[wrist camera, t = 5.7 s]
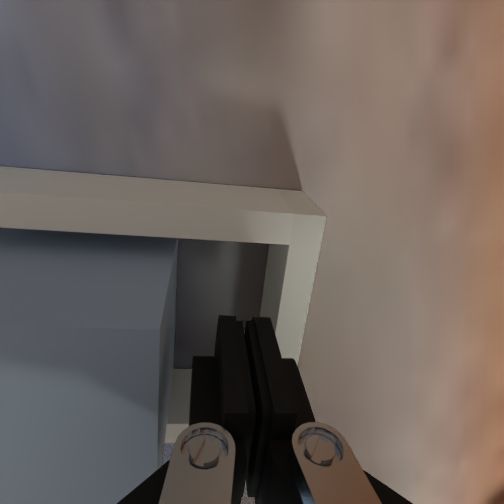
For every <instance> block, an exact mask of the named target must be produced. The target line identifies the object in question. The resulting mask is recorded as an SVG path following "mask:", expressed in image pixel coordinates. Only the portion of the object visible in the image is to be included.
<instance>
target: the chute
mask: <svg viewBox="0 0 504 504" xmlns="http://www.w3.org/2000/svg"><path fill="white" fill-rule="evenodd" d="M326 217H327V216H326V215H325V214H324V213H323V212H322V211H321V210H320V208H319V207H318V206H317V205H316V204H315V203H314V202H313V201H312V200H311V199H310V198H309V197H308V196H307V195H306V194H305V192H304V191H296V190H284V189H272V188H259V187H247V186H235V185H223V184H211V183H199V182H186V181H174V180H162V179H150V178H138V177H126V176H113V175H101V174H89V173H77V172H65V171H52V170H40V169H28V168H16V167H4V166H0V227H1V228H18V229H34V230H51V231H67V232H84V233H101V234H117V235H134V236H150V237H167V238H184V239H200V240H217V241H233V242H250V243H267V244H269V251H268V258H267V266H266V273H265V280H264V287H263V295H262V302H261V309H260V316H259V317H270V318H271V321H272V325H273V328H274V332H275V335H276V339H277V342H278V346H279V350H280V353H281V357H282V358H293V359H294V360H295V361H296V364H297V366H298V361H299V356H300V351H301V345H302V340H303V335H304V330H305V325H306V320H307V315H308V310H309V304H310V299H311V294H312V289H313V284H314V279H315V274H316V269H317V264H318V258H319V253H320V248H321V243H322V238H323V233H324V228H325V223H326ZM191 376H192V369H173V374H172V383H171V392H170V400H169V409H168V418H167V426H166V435H165V443H175V441H176V439H177V437H178V435H179V434H180V433H181V432H182V431H183V430H184V429H186V428H187V427H189V410H190V391H191Z"/></svg>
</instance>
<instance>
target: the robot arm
mask: <svg viewBox="0 0 504 504" xmlns="http://www.w3.org/2000/svg"><path fill="white" fill-rule="evenodd" d="M245 480H246V485H247V494H248V497H255V504H412V503H411V502H409V501H408V500H407V499H405V498H404V497H402V496H401V495H399V494H398V493H396V492H395V491H393V490H392V489H390V488H389V487H388V486H386V485H385V484H383V483H382V482H380V481H379V480H377V479H376V478H374V477H373V476H371V475H370V474H368V473H367V472H366V471H364V470H363V469H362V468H361V466H360V464H359V462H358V461H357V459H356V457H355V455H354V454H353V452H352V450H351V448H350V446H349V445H348V443H347V441H346V440H345V439H344V437H343V436H342V435H341V434H340V433H339V432H338V431H337V430H335V429H334V428H332V427H330V426H328V425H326V424H322V423H319V422H315V418H314V415H313V412H312V409H311V406H310V403H309V400H308V397H307V394H306V391H305V388H304V385H303V382H302V379H301V376H300V373H299V370H298V367H297V364H296V361H295V360H294V359H293V358H282V357H281V353H280V350H279V346H278V342H277V339H276V335H275V332H274V328H273V325H272V321H271V318H270V317H253V319H252V321H246V326H245V334H244V329H243V323H242V321H238V320H236V316H225V315H219V317H218V325H217V335H216V345H215V355H214V357H213V356H193V362H192V376H191V391H190V410H189V427H187V428H186V429H184V430H183V431H182V432H181V433H180V434H179V435H178V437H177V439H176V441H175V444H174V447H173V451H172V455H171V459H170V460H168V461H167V462H166V463H165V464H164V465H162V466H161V467H160V468H159V469H158V470H156V471H155V472H154V473H153V474H152V475H150V476H149V477H148V478H147V479H146V480H144V481H143V482H142V483H141V484H140V485H138V486H137V487H136V488H135V489H134V490H132V491H131V492H130V493H129V494H128V495H126V496H125V497H124V498H123V499H122V500H120V501H119V502H118V503H117V504H240V503H241V497H243V492H244V486H245Z"/></svg>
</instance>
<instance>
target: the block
mask: <svg viewBox="0 0 504 504" xmlns="http://www.w3.org/2000/svg"><path fill="white" fill-rule="evenodd" d="M177 254H178V238H167V237H150V236H134V235H117V234H101V233H84V232H67V231H51V230H34V229H18V228H1V227H0V504H117V503H118V502H119V501H120V500H122V499H123V498H124V497H125V496H126V495H128V494H129V493H130V492H131V491H132V490H134V489H135V488H136V487H137V486H138V485H140V484H141V483H142V482H143V481H144V480H146V479H147V478H148V477H149V476H150V475H152V474H153V473H154V472H155V471H156V470H158V469H159V468H160V467H161V466H162V461H163V452H164V444H165V435H166V426H167V418H168V409H169V400H170V392H171V383H172V374H173V366H174V339H175V310H176V282H177Z"/></svg>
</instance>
